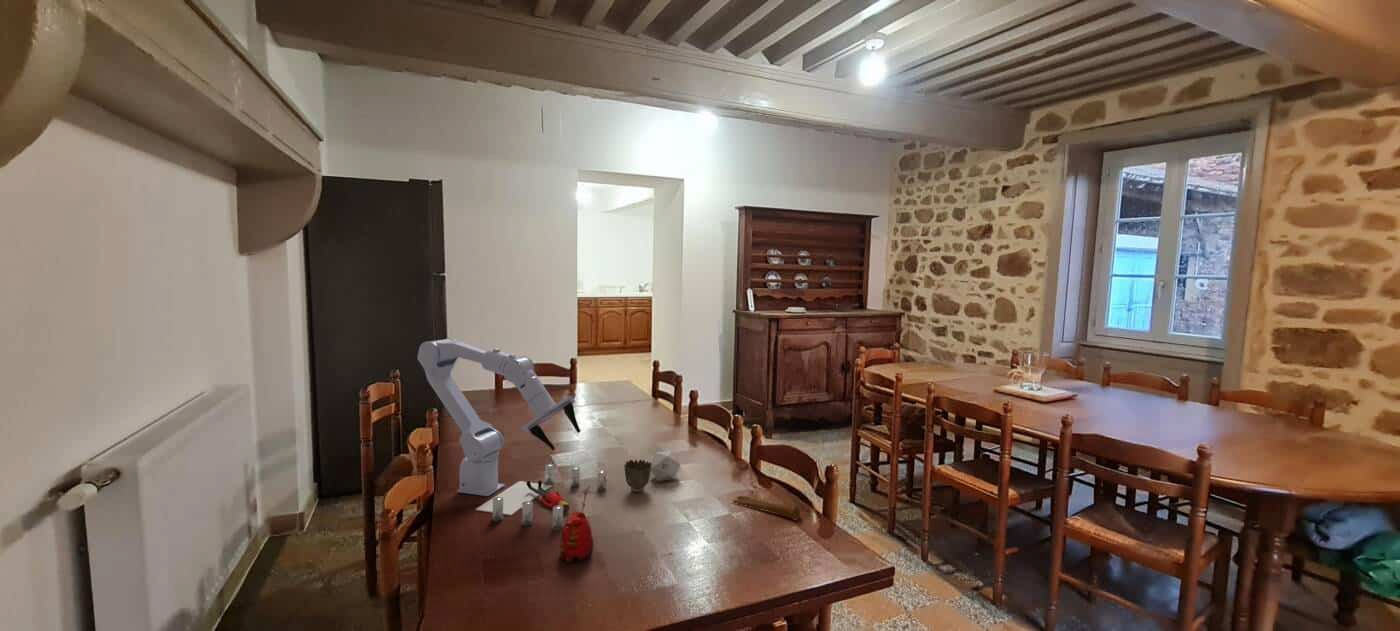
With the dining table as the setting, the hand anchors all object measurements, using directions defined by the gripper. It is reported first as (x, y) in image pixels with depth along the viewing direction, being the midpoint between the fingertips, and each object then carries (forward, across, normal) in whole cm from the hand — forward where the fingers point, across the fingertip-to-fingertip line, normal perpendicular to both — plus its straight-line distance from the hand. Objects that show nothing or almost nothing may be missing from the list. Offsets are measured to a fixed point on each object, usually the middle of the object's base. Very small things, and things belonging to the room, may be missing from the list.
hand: (566, 440), depth 148 cm
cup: (+22, +9, +10) cm, 26 cm away
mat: (+4, -18, +12) cm, 22 cm away
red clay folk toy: (+23, -13, -19) cm, 33 cm away
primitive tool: (+45, +30, -6) cm, 54 cm away
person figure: (+10, -11, +8) cm, 17 cm away
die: (+24, +18, +18) cm, 36 cm away
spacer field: (+10, -11, +8) cm, 17 cm away
